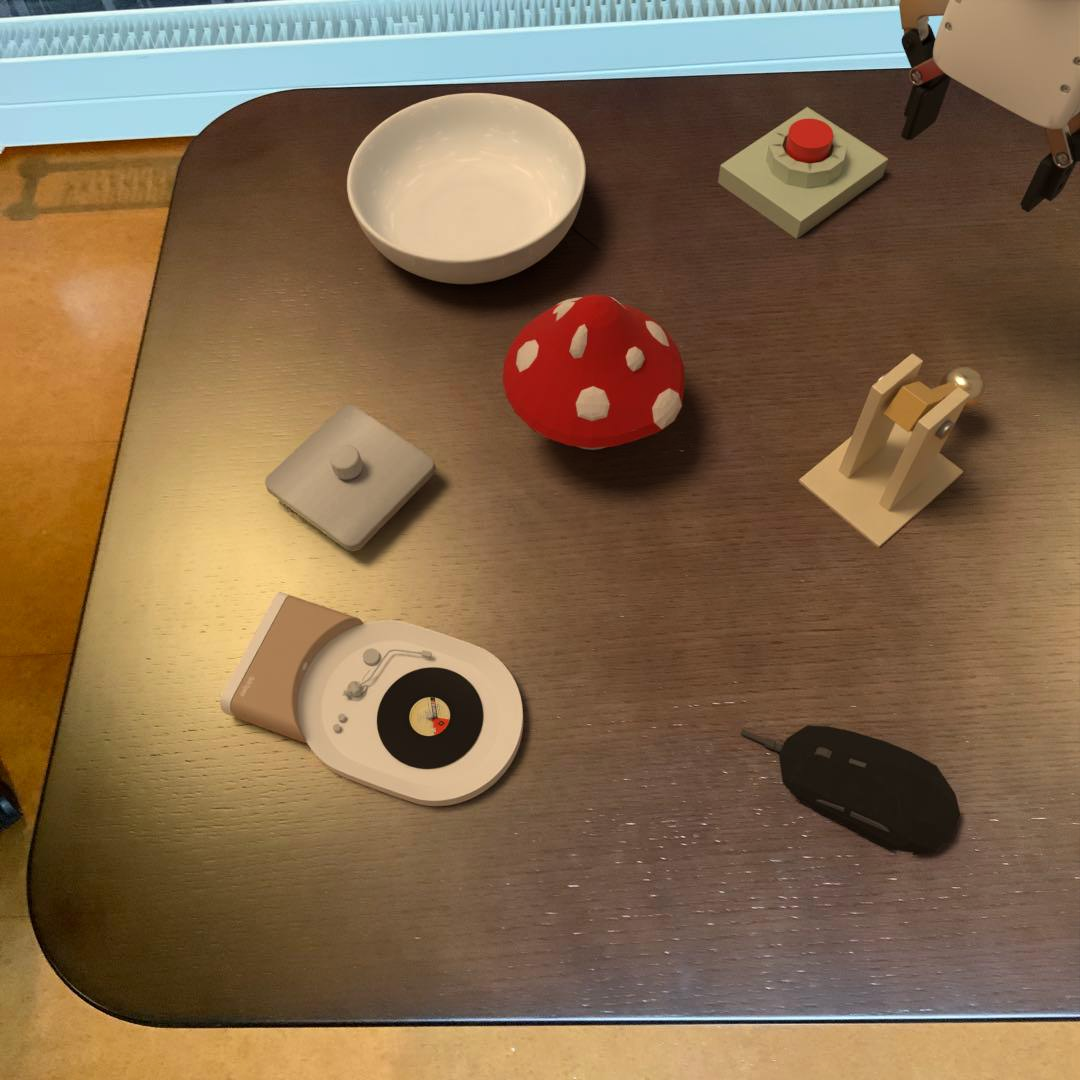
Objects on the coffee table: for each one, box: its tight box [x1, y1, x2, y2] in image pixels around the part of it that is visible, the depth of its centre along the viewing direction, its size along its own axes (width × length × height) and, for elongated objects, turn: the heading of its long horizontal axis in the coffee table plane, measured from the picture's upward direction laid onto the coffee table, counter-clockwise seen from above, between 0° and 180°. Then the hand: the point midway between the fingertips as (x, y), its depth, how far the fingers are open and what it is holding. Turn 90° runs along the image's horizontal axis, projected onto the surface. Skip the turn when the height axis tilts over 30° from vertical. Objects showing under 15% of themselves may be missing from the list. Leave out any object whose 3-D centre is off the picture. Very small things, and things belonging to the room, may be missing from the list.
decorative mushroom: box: [502, 293, 686, 451], centre depth 79 cm, size 14×14×15 cm
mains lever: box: [884, 365, 986, 432], centre depth 77 cm, size 12×3×3 cm
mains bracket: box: [798, 353, 970, 549], centre depth 77 cm, size 10×8×12 cm
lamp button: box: [785, 118, 833, 164], centre depth 95 cm, size 4×4×2 cm
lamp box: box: [717, 106, 889, 240], centre depth 97 cm, size 12×10×4 cm
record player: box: [219, 591, 524, 807], centre depth 73 cm, size 12×3×20 cm
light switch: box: [264, 404, 437, 552], centre depth 81 cm, size 10×10×5 cm
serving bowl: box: [346, 92, 587, 285], centre depth 94 cm, size 21×21×7 cm
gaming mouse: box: [740, 724, 961, 856], centre depth 69 cm, size 6×15×4 cm, turn 62°
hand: (975, 164), depth 72 cm, fingers open, 9 cm apart
